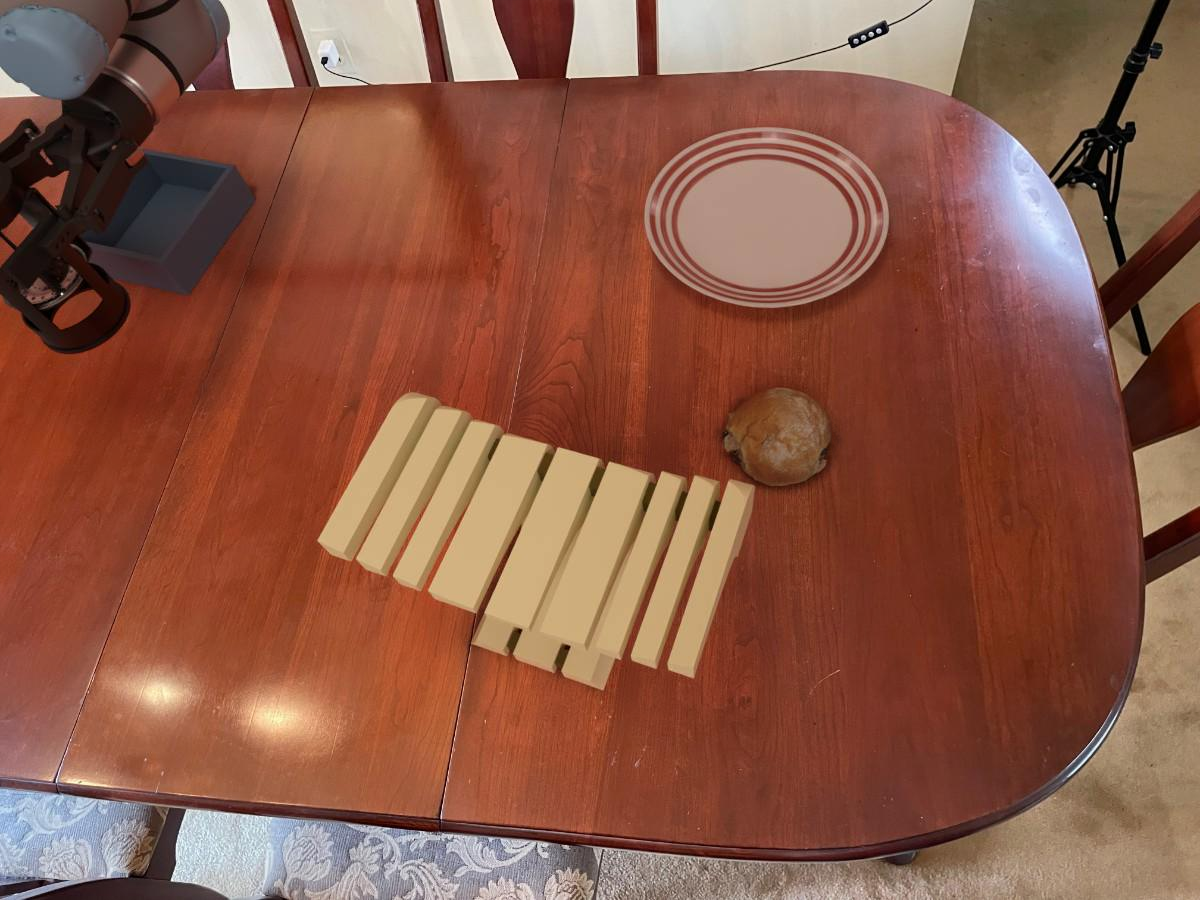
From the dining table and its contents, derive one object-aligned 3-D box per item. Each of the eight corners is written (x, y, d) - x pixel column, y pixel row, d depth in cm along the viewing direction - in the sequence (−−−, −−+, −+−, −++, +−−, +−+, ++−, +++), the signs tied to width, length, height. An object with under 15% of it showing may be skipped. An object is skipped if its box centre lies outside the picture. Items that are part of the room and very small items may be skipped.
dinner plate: (916, 180, 100) (923, 158, 97) (835, 354, 89) (840, 335, 86) (703, 125, 109) (703, 103, 106) (605, 278, 98) (602, 258, 95)
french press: (116, 355, 84) (-71, 178, 64) (27, 364, 85) (-183, 191, 65) (144, 265, 90) (-18, 77, 70) (62, 274, 91) (-122, 90, 71)
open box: (93, 274, 107) (63, 242, 102) (165, 182, 114) (140, 147, 109) (188, 296, 103) (162, 263, 98) (256, 199, 111) (235, 164, 106)
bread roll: (793, 512, 85) (838, 487, 78) (703, 469, 83) (741, 441, 76) (814, 429, 89) (858, 399, 82) (729, 388, 88) (766, 353, 81)
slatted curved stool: (746, 557, 79) (757, 468, 64) (695, 723, 72) (693, 667, 57) (461, 473, 87) (410, 375, 72) (391, 615, 80) (317, 540, 65)
